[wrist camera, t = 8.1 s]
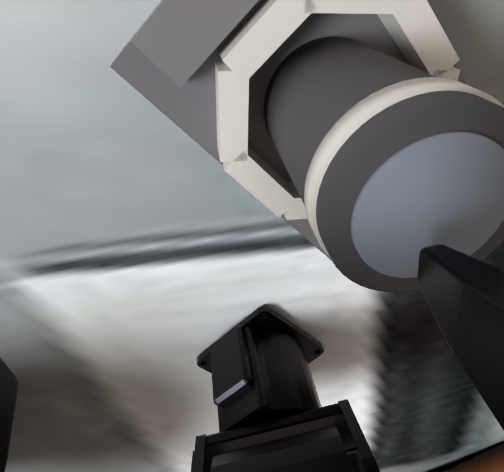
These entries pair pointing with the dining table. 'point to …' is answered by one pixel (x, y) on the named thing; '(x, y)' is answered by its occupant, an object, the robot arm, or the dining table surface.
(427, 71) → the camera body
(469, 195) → the lens
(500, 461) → the sunglasses case
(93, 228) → the dining table surface
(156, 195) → the dining table surface
